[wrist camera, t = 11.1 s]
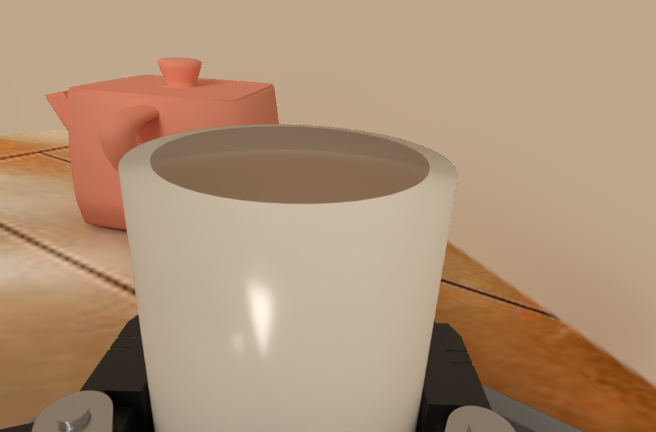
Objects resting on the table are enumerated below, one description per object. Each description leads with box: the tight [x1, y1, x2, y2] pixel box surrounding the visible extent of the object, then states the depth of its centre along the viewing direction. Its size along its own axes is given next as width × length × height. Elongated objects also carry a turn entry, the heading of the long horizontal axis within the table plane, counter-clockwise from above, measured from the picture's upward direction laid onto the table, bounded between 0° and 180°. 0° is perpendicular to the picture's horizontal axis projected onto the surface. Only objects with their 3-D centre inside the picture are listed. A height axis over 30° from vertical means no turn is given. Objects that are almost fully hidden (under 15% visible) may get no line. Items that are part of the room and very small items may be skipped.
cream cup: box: [118, 124, 458, 432], centre depth 10 cm, size 6×6×12 cm
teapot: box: [45, 58, 279, 230], centre depth 40 cm, size 20×22×14 cm
